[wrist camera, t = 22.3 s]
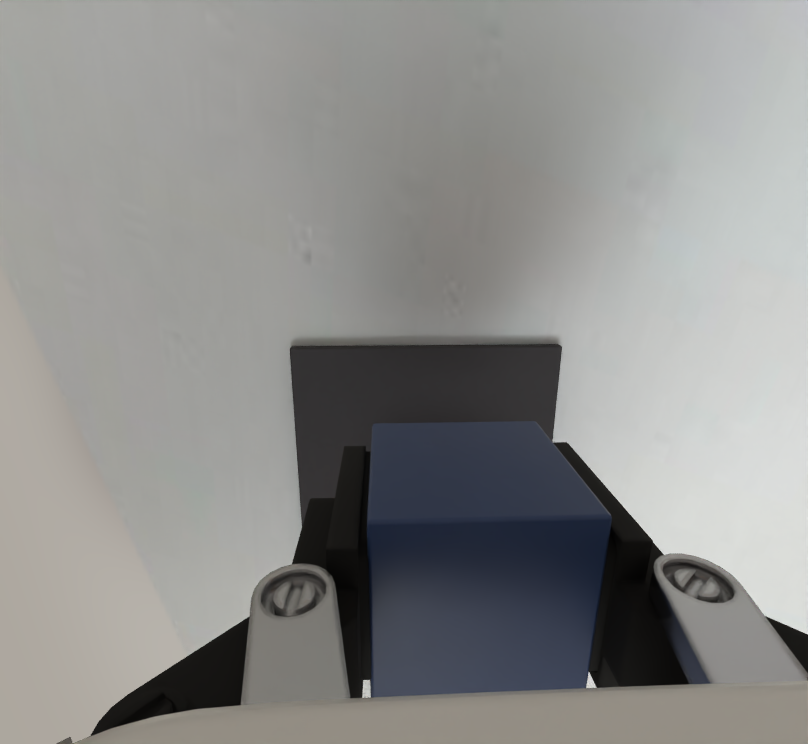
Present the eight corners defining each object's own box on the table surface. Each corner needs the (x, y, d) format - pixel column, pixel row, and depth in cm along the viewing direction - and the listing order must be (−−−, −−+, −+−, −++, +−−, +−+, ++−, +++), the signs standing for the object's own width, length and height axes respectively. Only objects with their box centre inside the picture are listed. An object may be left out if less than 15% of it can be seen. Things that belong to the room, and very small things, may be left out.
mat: (307, 572, 20) (305, 579, 20) (291, 345, 17) (289, 348, 17) (536, 565, 20) (539, 572, 20) (558, 343, 17) (562, 346, 17)
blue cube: (374, 561, 12) (371, 710, 8) (371, 422, 11) (366, 522, 7) (523, 557, 12) (585, 702, 9) (536, 419, 11) (614, 516, 7)
